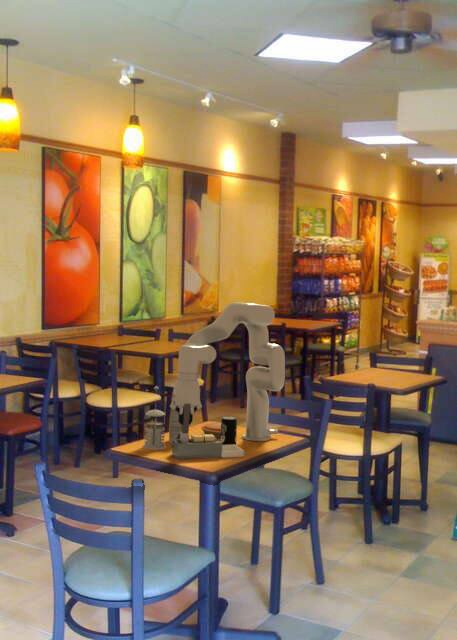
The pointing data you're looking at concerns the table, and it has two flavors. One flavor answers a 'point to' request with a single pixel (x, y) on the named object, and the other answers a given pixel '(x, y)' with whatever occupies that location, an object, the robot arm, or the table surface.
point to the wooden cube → (209, 438)
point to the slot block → (196, 449)
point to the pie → (213, 429)
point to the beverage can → (228, 430)
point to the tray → (232, 451)
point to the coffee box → (174, 425)
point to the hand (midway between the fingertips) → (185, 423)
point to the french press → (154, 431)
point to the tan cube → (197, 439)
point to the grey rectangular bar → (185, 424)
